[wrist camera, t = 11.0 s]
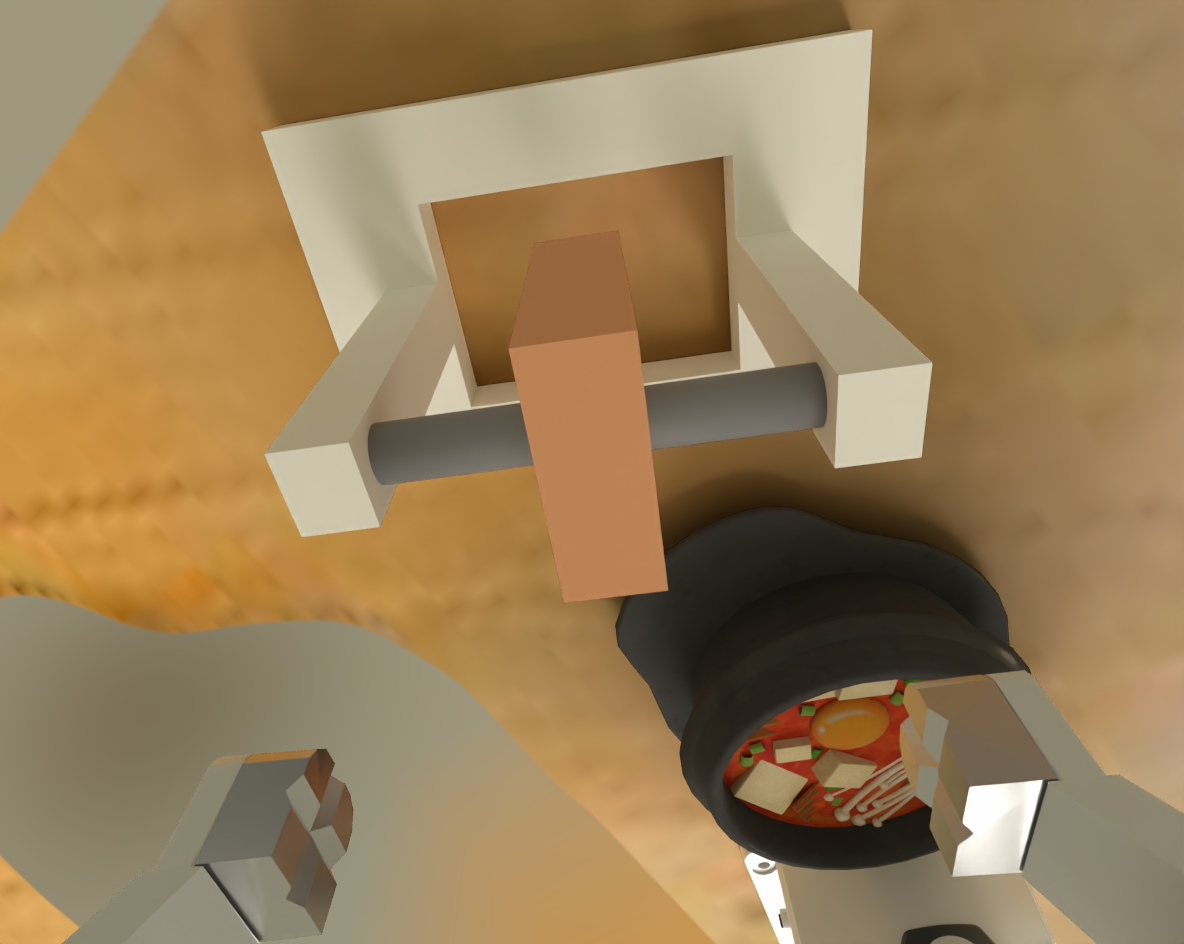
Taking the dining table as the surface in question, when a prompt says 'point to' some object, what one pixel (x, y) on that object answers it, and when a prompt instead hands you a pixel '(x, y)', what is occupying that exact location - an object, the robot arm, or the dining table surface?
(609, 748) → the dining table surface
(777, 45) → the toilet paper holder
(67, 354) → the dining table surface
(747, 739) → the casserole
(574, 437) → the orange block
